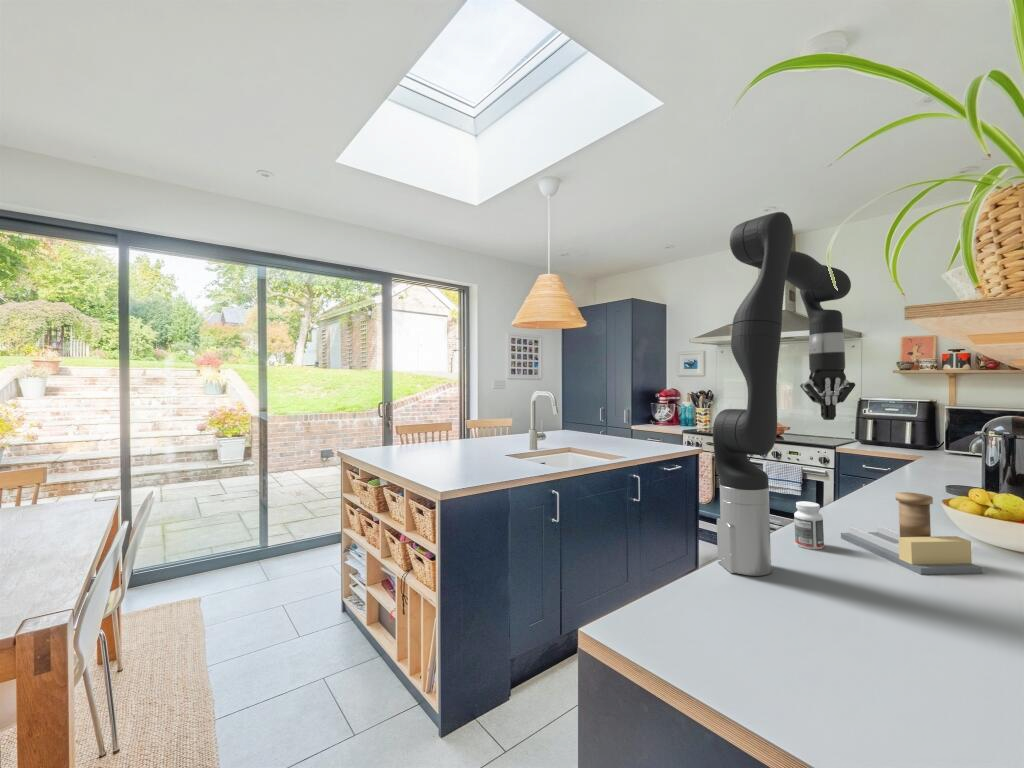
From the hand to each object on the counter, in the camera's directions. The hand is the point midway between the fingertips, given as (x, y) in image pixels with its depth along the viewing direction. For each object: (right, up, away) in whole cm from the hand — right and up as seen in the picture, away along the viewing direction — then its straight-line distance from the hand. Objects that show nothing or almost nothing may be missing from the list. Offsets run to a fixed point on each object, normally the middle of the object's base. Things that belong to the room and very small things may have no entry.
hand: (828, 419), depth 115 cm
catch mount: (+7, -29, -14) cm, 33 cm away
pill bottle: (-10, -29, -8) cm, 32 cm away
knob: (+6, -27, -17) cm, 33 cm away
